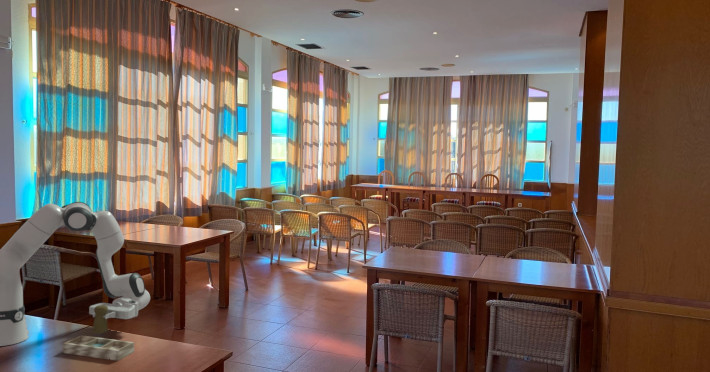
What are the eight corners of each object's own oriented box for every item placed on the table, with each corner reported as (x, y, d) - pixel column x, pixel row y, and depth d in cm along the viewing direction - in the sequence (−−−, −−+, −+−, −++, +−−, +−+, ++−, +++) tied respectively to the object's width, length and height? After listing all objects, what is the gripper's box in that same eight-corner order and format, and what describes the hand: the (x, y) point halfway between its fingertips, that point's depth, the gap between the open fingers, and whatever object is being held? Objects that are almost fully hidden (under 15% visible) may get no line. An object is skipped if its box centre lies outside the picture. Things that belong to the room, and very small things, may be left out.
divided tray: (63, 352, 204) (63, 343, 203) (81, 344, 212) (80, 335, 212) (118, 360, 197) (118, 350, 197) (134, 351, 206) (134, 342, 206)
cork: (101, 333, 214) (102, 307, 214) (88, 332, 215) (90, 306, 215) (111, 329, 220) (112, 304, 220) (98, 328, 221) (99, 303, 221)
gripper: (102, 297, 232) (79, 306, 219) (141, 302, 227) (119, 311, 214) (102, 311, 232) (79, 320, 219) (140, 316, 227) (119, 326, 214)
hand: (99, 316), depth 216 cm, fingers closed on cork, 4 cm apart
